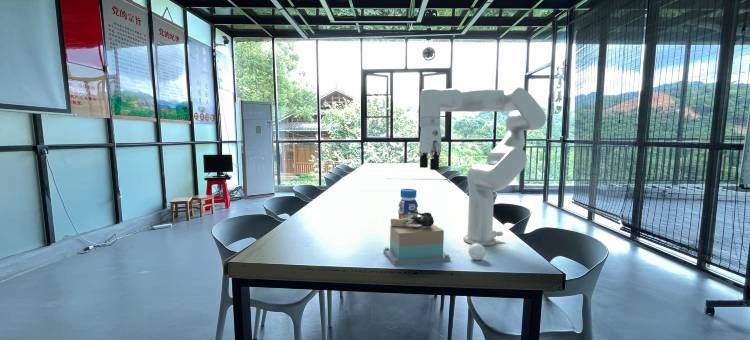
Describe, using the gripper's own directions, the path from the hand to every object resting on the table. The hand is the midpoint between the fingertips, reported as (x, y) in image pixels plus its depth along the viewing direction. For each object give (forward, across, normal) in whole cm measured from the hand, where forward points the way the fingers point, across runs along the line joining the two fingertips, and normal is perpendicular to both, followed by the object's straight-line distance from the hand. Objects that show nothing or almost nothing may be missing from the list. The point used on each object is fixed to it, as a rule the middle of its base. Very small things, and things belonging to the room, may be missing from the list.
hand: (428, 168), depth 121 cm
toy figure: (+20, -7, +9) cm, 23 cm away
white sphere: (+31, -17, -12) cm, 37 cm away
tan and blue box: (+30, -8, +8) cm, 32 cm away
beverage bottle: (+31, +16, +2) cm, 34 cm away
